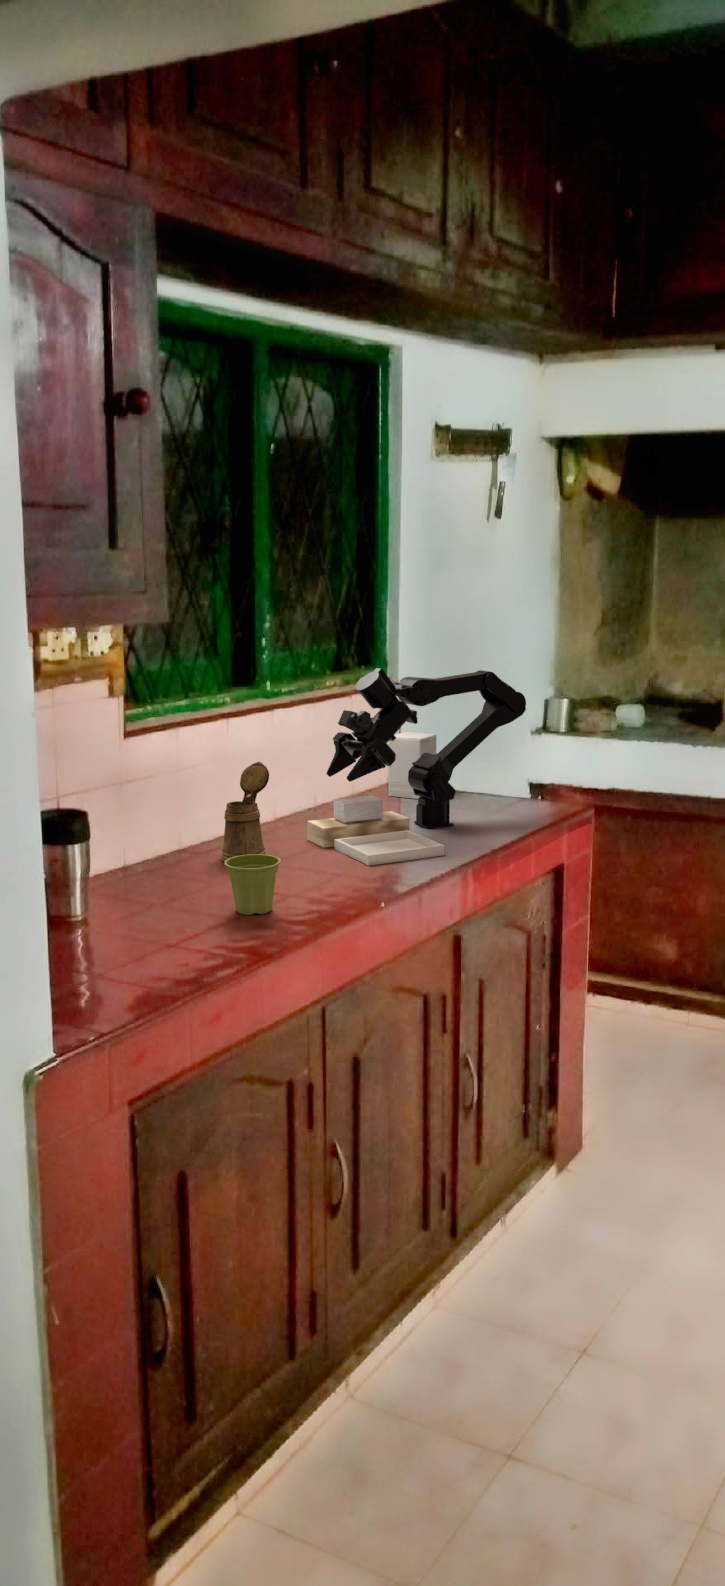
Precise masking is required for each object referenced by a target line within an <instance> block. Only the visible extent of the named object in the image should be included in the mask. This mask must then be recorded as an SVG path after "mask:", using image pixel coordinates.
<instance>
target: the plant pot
mask: <svg viewBox="0 0 725 1586" xmlns="http://www.w3.org/2000/svg"><path fill="white" fill-rule="evenodd" d="M281 863H282V860H281V858H280V857H278V856H275V855H271V854H266V855H264V854H249V855H241V856H235V857H232V858H229V859H227V860H226V861H225V862H224V866H225V867H226V869H227V872H228V874H229V877H230V883H231V888H232V895H233V899H234V900H233V901H234V905H235V910H236V912H237V913H239V914H242V915H245V916H251V915H254V914H259V915H264V914H267V913H269V912H271V911H272V910H273V906H274V905H273V904H274V895H275V887H276V885H275V884H276V878H277V876H276V875H277V873H278V870H279V866H280V864H281Z"/></svg>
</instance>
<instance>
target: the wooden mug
mask: <svg viewBox="0 0 725 1586" xmlns="http://www.w3.org/2000/svg"><path fill="white" fill-rule="evenodd" d="M269 780H270V771H269V769H268V768H267V766H266V765H265V764H263V763H262V762H261V761H257V762H254V763H253V764H250V765H249V766H247V767H245V769H244V770H243V771H242V773H241V775H240V780H239V787H240V789H241V790H242V791H243V792H244V794H243V799H242V801H237V800H236V801H230V802H227V803H226V809H225V811H224V821H225V822H224V835H223V846H222V847H223V848H222V849H221V861H222V862H224V863H225V861H226V860H227V859H229V858H232V857H235V856H241V855H249V854H264V855H267V853H266V847H264V839H263V834H262V827H261V820H260V818H261V812H260V809H259V807H258V803H257V802H256V799H257V796H258V794H259V793H260V792H261V791H263V790H264V789H265V788H266V787H267V784H268V783H269Z"/></svg>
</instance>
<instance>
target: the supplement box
mask: <svg viewBox="0 0 725 1586" xmlns="http://www.w3.org/2000/svg"><path fill="white" fill-rule="evenodd" d="M394 736H395V737H396V739H395V740H394V741H388V745H389V747H390V748H391V749H392V750H393V751H394V752H395V754H396V760H395V761H394V762H393V764H392V765H391V766H388V796H389V797H396V798H405V799H415V800H418V797H421V796H418V795H415V794H414V791H413V788H412V787H411V786H410V784H409V782H408V772H409V770H410V768H411V767H412V766H413V765H412V763H413V762H415V761H417V760H418V759H419V758H420V757H421V755H422V754H424V753H430V754H433V755H435V754H437V734H436V733H425V732H424V733H423V732H415V731H413V732H412V731H404V732H401V733H400V732H399V733H395V734H394Z"/></svg>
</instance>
